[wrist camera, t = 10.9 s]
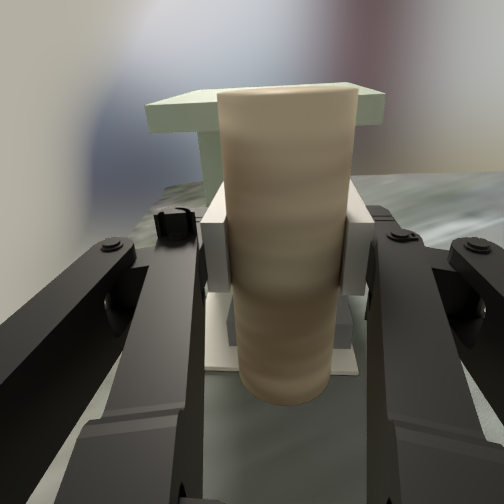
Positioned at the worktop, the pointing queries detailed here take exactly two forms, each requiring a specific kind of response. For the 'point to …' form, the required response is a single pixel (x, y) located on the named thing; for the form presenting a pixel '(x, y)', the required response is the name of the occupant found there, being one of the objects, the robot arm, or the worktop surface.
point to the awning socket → (207, 126)
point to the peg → (286, 230)
